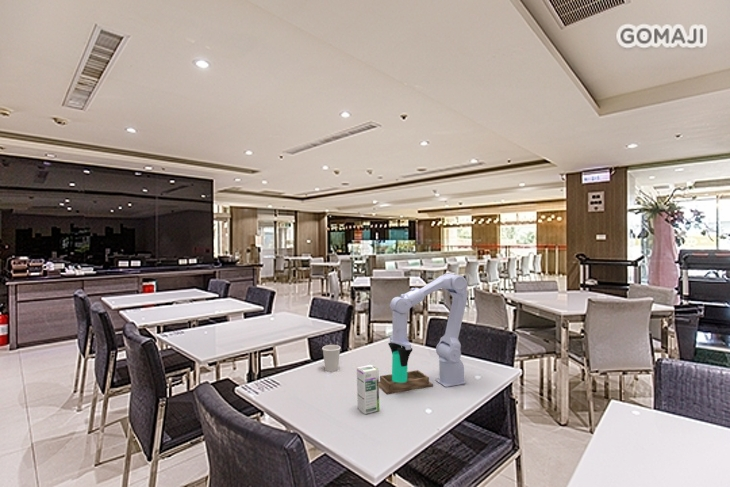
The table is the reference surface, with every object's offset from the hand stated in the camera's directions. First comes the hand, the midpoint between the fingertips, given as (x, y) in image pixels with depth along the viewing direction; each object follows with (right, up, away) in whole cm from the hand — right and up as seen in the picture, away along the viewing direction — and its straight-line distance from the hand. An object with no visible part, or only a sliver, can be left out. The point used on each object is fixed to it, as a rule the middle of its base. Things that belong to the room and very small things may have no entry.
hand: (400, 363), depth 143 cm
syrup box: (-13, -11, -16) cm, 23 cm away
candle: (0, -7, -1) cm, 7 cm away
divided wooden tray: (+2, -10, +5) cm, 12 cm away
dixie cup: (-29, -11, +24) cm, 39 cm away
